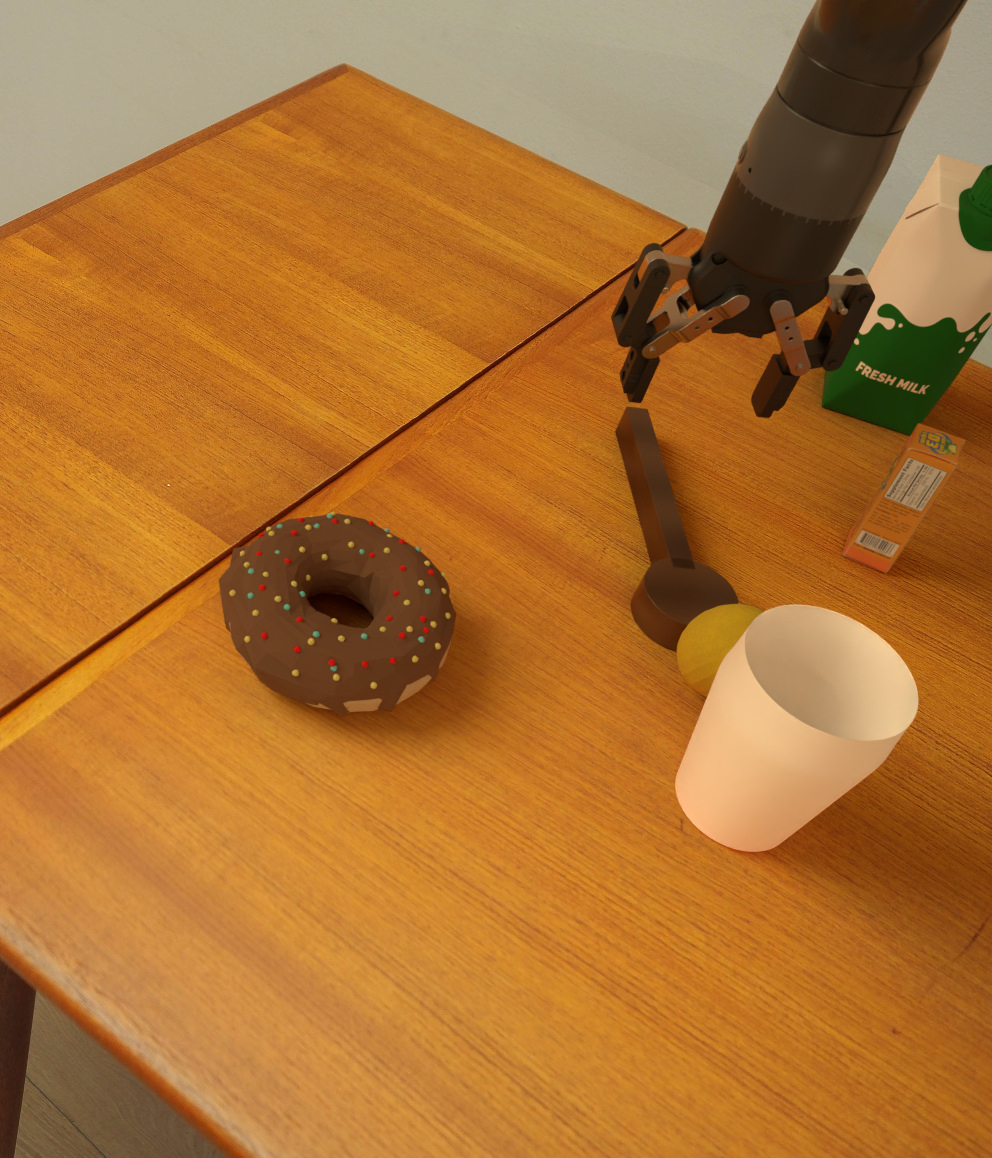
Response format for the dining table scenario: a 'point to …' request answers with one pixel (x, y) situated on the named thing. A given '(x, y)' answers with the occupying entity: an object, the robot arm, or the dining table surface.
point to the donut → (316, 641)
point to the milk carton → (922, 302)
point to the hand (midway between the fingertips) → (695, 402)
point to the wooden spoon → (664, 542)
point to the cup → (792, 725)
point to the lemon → (711, 642)
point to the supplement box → (903, 498)
